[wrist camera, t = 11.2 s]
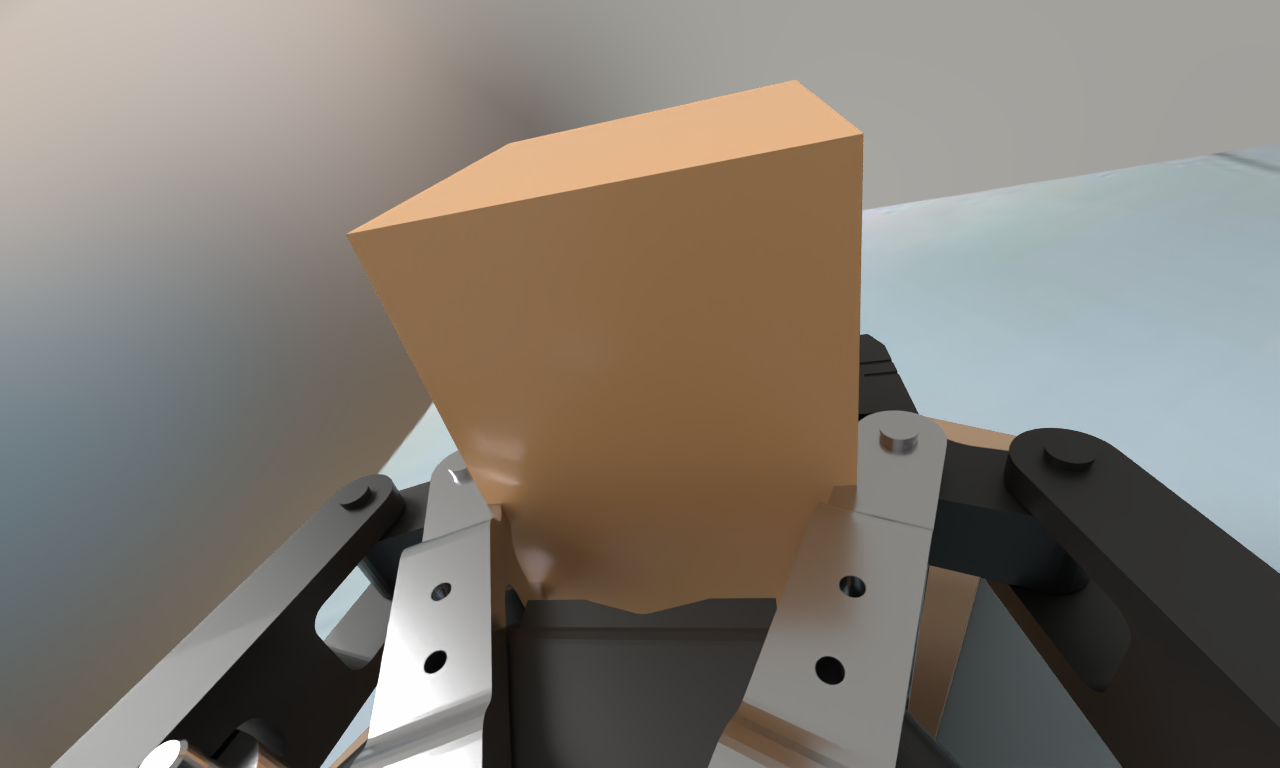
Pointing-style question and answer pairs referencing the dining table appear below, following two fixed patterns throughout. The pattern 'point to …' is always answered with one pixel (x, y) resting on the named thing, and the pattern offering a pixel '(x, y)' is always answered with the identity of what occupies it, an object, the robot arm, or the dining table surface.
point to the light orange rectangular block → (645, 339)
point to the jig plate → (940, 618)
